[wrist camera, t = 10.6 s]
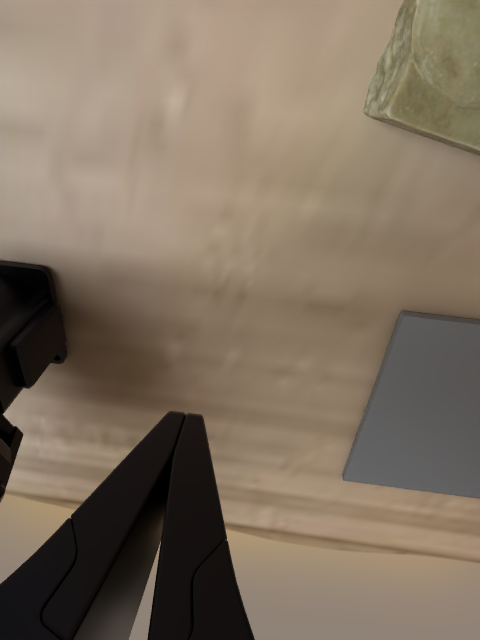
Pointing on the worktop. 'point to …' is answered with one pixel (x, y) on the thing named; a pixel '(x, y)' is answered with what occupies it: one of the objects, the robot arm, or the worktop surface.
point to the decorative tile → (432, 73)
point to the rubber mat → (424, 410)
